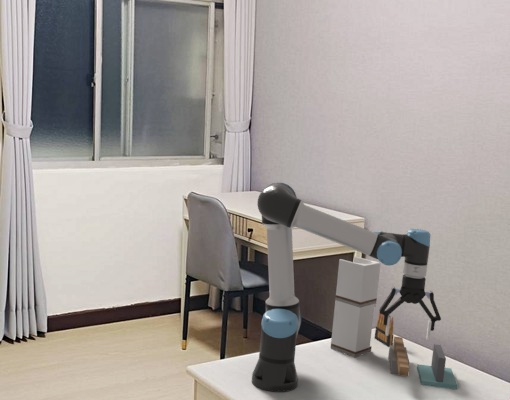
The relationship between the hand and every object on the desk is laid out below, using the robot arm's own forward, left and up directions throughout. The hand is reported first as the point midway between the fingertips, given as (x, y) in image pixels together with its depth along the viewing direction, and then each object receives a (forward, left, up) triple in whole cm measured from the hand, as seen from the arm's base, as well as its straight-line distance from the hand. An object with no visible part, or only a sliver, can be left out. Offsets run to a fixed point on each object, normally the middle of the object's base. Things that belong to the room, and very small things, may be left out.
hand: (407, 337), depth 236 cm
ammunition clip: (-4, +43, -17) cm, 46 cm away
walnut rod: (0, +11, -12) cm, 16 cm away
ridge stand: (+13, +10, -17) cm, 23 cm away
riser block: (0, +17, -17) cm, 24 cm away
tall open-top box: (-17, +29, -17) cm, 38 cm away
